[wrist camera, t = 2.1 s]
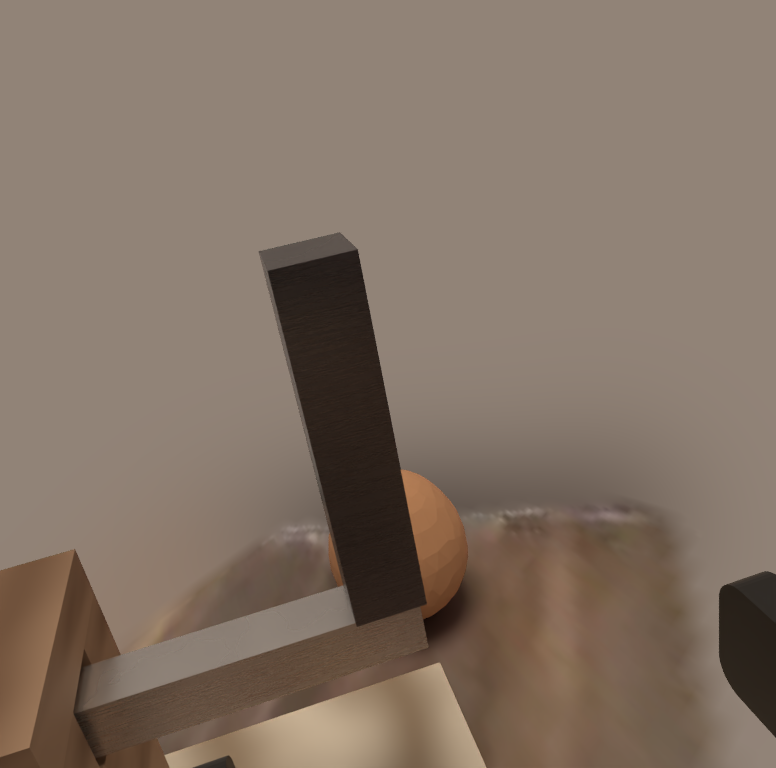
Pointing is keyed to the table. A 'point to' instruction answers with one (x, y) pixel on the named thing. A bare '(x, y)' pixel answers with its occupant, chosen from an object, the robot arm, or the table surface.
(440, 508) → the egg
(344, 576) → the gray l-shaped bracket
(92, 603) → the block
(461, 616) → the table surface
